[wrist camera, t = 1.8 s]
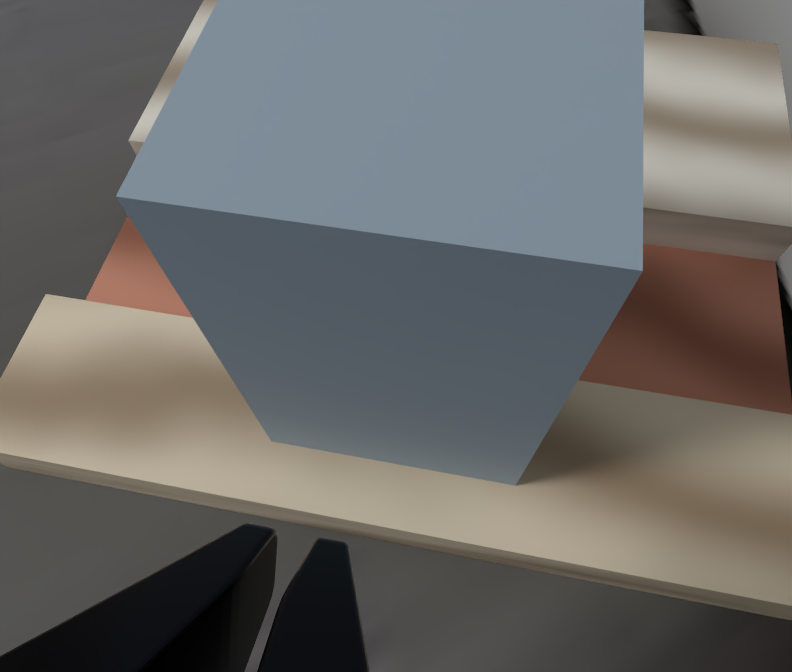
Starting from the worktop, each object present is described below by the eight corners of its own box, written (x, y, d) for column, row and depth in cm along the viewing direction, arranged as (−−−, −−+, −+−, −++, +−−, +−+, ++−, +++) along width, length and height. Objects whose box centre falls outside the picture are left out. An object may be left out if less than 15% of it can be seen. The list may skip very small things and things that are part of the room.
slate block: (515, 485, 19) (643, 271, 9) (271, 441, 20) (115, 196, 10) (536, 276, 23) (644, -55, 12) (329, 246, 24) (263, -88, 13)
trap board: (812, 624, 19) (863, 619, 17) (8, 466, 22) (-36, 445, 20) (751, 87, 31) (777, 43, 29) (224, 30, 34) (210, -14, 32)
